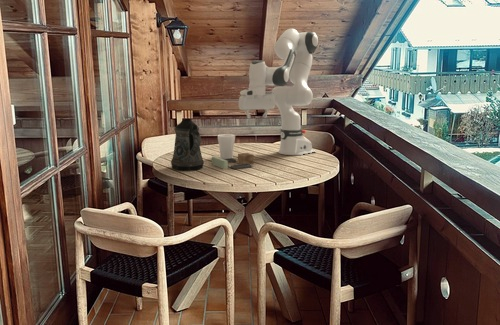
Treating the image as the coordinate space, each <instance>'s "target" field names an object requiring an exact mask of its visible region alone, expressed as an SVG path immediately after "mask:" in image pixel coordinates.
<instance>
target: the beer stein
mask: <svg viewBox="0 0 500 325" xmlns="http://www.w3.org/2000/svg"><path fill="white" fill-rule="evenodd" d="M173 129H174V133H175V140H174V147H173V153H172V158H171V161H170V164H171V167H172V170H173V169H174V171H176V172H177V171H179V172H193V171H194V172H195V171H199V170H201V169H203V168H204V163H205V161H204V159H203V156H202V152H201V151H202V150H201V141H202V136H201V134H200V131H199V130H200V128H199V126H198V125H197V124H196V123H195V122H194V121H193V120H192V118H183V119H181V121H180V122H179V123H177V124H176V126H175V127H174V128H173Z"/></svg>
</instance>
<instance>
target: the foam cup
mask: <svg viewBox="0 0 500 325" xmlns="http://www.w3.org/2000/svg"><path fill="white" fill-rule="evenodd" d="M235 141H236V135H235V134H232V133H221V134H218V135H217V142H218V147H219V156H220V158H221V159H229V158H233V156H234V146H235Z"/></svg>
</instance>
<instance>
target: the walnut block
mask: <svg viewBox="0 0 500 325" xmlns="http://www.w3.org/2000/svg"><path fill="white" fill-rule="evenodd" d="M237 163H238V164H250V165H253V164H254V154H253V153H249V152H243V153H237Z"/></svg>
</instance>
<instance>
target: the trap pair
mask: <svg viewBox="0 0 500 325" xmlns="http://www.w3.org/2000/svg"><path fill="white" fill-rule="evenodd" d="M224 160H227V161H228V164H229V163H235V162H237V159H235V158H233V157H232V158H229V159H224ZM229 167H230V169H232V170H241V169H249V168H252V167H253V164H240V163H238V164H232V165H230V166H229Z"/></svg>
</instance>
